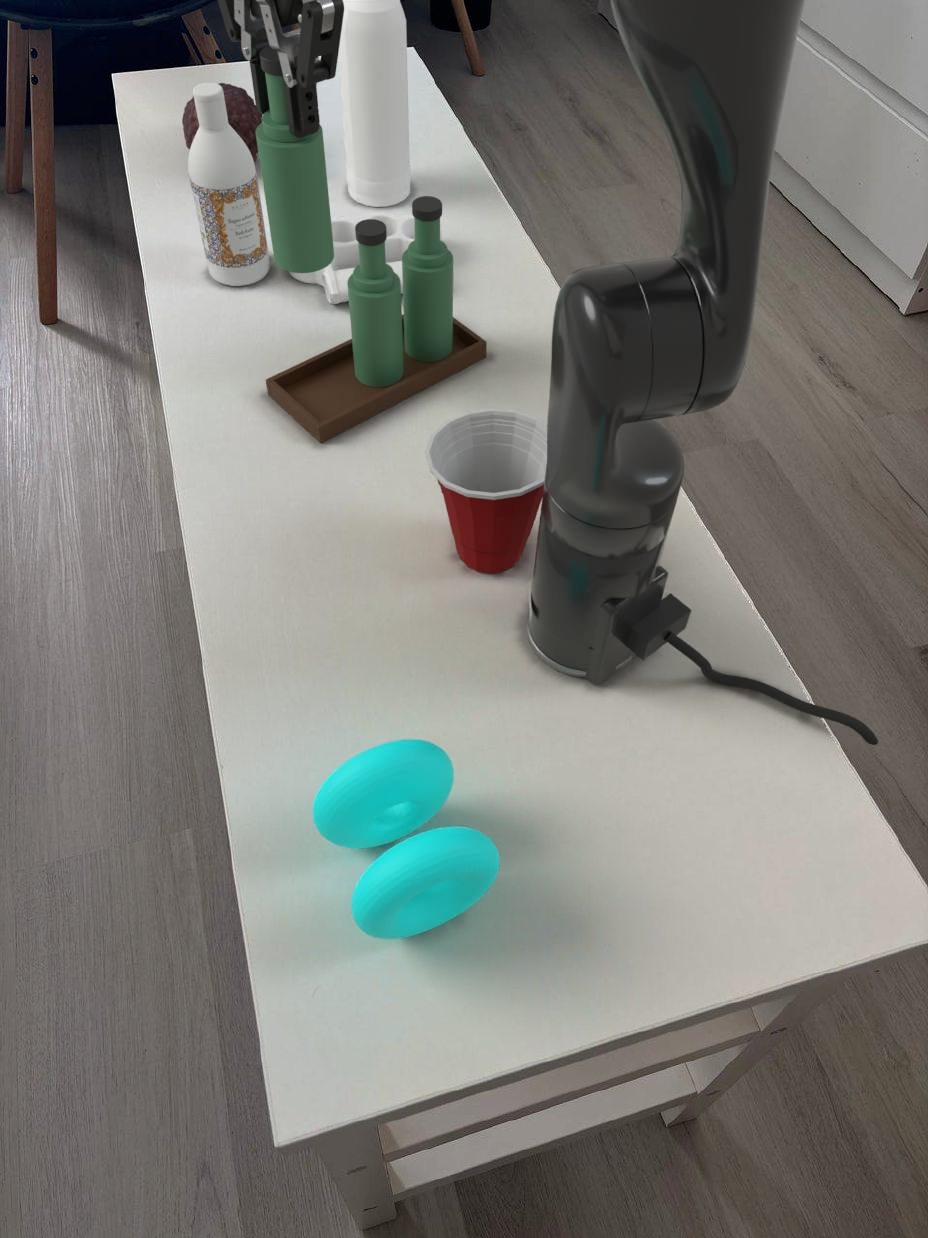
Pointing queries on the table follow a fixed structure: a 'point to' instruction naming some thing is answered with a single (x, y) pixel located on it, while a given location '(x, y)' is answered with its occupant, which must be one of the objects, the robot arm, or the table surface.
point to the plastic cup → (490, 483)
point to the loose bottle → (293, 181)
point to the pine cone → (229, 117)
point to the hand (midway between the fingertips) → (288, 120)
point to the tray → (361, 384)
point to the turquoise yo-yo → (417, 867)
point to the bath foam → (226, 194)
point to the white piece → (348, 252)
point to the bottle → (375, 101)
